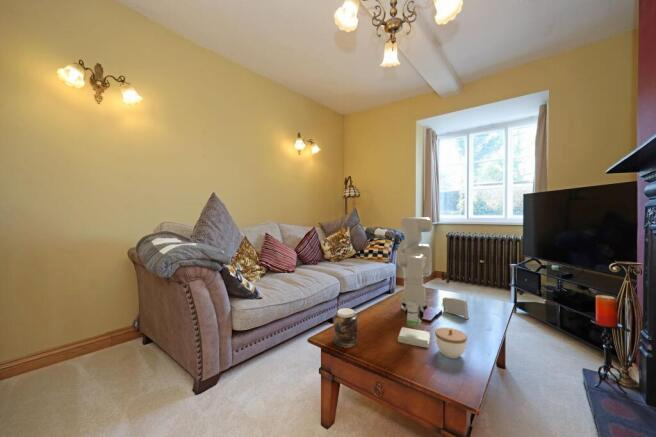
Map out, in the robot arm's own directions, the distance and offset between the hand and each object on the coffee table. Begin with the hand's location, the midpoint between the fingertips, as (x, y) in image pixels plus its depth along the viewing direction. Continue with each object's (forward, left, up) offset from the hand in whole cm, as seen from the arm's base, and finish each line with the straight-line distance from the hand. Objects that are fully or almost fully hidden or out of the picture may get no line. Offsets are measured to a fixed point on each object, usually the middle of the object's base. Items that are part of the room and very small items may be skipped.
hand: (414, 317), depth 128 cm
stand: (0, 0, -11) cm, 11 cm away
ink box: (0, 0, -3) cm, 3 cm away
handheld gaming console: (-43, +19, -11) cm, 49 cm away
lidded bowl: (+7, +16, -11) cm, 21 cm away
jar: (+16, -30, -11) cm, 36 cm away
